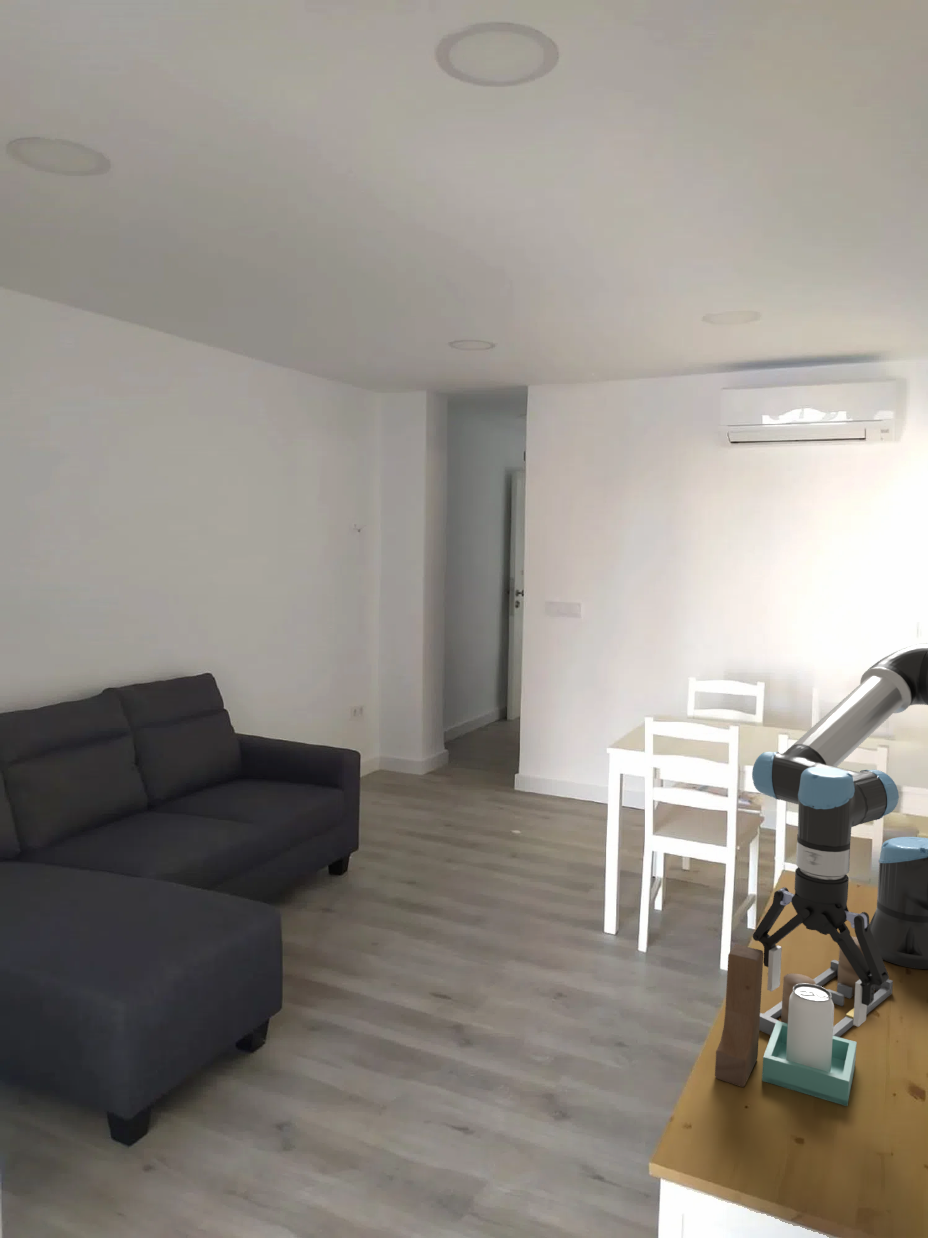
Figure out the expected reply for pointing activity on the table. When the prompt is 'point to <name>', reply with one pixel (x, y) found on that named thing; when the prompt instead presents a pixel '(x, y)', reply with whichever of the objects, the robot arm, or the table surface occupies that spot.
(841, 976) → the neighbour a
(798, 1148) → the table surface
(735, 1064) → the wooden block
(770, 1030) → the grey flat open frame
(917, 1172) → the table surface
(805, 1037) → the can
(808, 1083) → the tray
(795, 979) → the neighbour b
